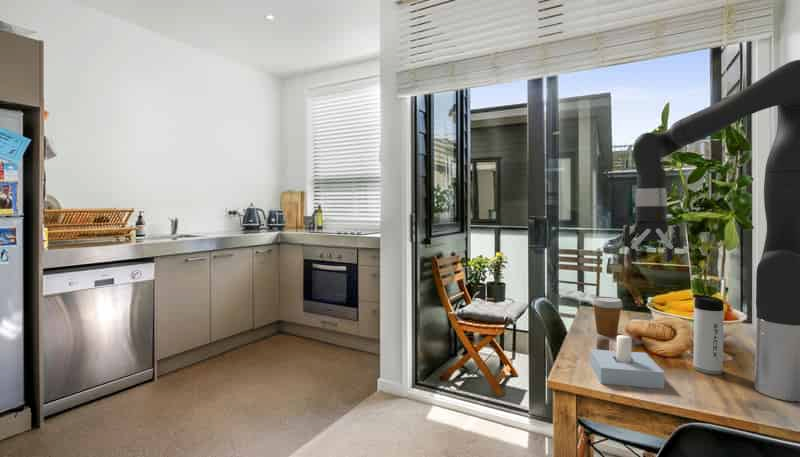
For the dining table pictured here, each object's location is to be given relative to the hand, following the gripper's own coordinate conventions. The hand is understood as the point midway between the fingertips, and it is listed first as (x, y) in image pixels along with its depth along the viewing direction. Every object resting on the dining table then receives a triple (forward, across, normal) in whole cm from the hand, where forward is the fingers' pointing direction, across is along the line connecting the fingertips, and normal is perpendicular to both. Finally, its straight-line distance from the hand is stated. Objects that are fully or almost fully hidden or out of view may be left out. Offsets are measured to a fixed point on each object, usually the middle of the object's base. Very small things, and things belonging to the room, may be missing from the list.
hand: (650, 261), depth 118 cm
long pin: (+28, -10, -14) cm, 33 cm away
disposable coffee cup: (+28, -6, +24) cm, 38 cm away
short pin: (+28, -12, +1) cm, 31 cm away
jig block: (+28, -10, -14) cm, 33 cm away
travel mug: (+28, +12, -6) cm, 31 cm away
